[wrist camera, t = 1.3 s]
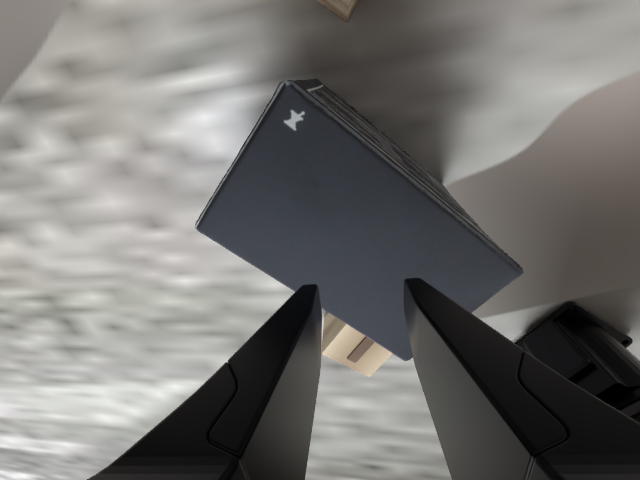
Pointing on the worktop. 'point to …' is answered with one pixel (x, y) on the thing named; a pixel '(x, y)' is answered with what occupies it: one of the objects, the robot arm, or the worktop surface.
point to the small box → (348, 216)
